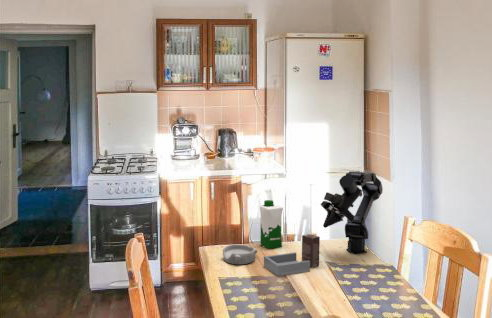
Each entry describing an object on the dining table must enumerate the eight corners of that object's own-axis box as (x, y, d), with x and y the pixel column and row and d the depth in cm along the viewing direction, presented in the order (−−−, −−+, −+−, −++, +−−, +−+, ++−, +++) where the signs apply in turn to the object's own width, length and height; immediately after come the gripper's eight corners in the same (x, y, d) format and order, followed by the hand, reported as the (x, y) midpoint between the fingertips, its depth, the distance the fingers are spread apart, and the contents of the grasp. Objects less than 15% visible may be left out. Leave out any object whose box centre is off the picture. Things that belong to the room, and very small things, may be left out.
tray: (294, 261, 229) (294, 252, 228) (310, 271, 217) (310, 261, 217) (263, 266, 223) (263, 256, 223) (277, 276, 212) (277, 266, 211)
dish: (241, 268, 222) (240, 255, 221) (215, 261, 231) (215, 249, 230) (263, 259, 233) (263, 247, 232) (238, 252, 242) (238, 241, 241)
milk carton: (274, 242, 257) (274, 199, 254) (285, 247, 249) (285, 202, 246) (257, 244, 253) (257, 201, 250) (267, 250, 245) (267, 205, 242)
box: (319, 265, 223) (320, 236, 222) (311, 268, 221) (312, 238, 219) (308, 262, 228) (309, 233, 226) (300, 264, 225) (301, 235, 224)
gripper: (325, 181, 238) (301, 209, 235) (348, 189, 221) (323, 219, 218) (341, 198, 242) (317, 226, 239) (365, 207, 224) (340, 237, 222)
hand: (324, 226), depth 229 cm, fingers closed
